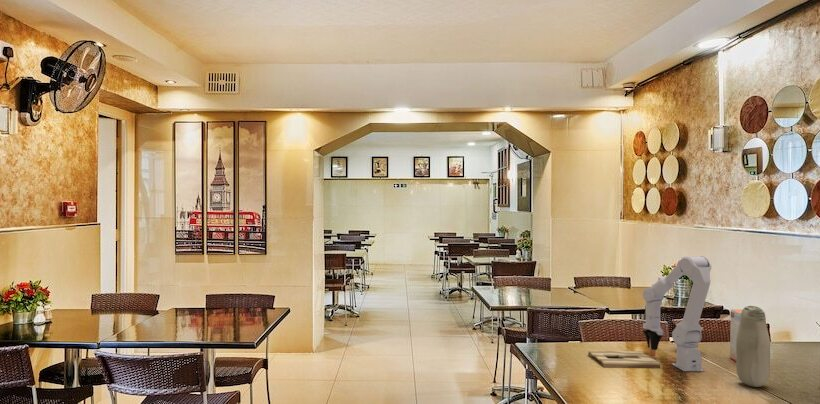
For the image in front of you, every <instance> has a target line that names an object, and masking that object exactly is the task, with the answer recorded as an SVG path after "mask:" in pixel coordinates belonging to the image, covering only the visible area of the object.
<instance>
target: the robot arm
mask: <svg viewBox="0 0 820 404" xmlns="http://www.w3.org/2000/svg"><path fill="white" fill-rule="evenodd" d="M712 267H713V266H712V263H711V262H710V260H709V258H707V257H706V256H703V255H701V256H683V257H681V259H680V260H678V261H677V265H676V266H675V267H674V268H673V269H672V270H671V271H670V272H669V273H668V274H667V275H666V276H660V277H658V279H657V281H655V282H654V283H653V284H652V285H650V287H645V288H644V289H643V291H642V298H643V299H644V301H645V323H642V328H643V330H642V332H643V335H644V336H645V339H646V344H647V348H648V349H650V343H651V349H652V350H656V351H657V350H658V348H659V344H660V341H661V339H662V338H663V336H664V330H663V328H662V327H661V306H662V304H663V302H662V301H663V300H664V298H665V295H666V294H667V293H668V292H669V291H671V289H673V288H674V283H675V282H677V280H679V279H680V278H682V277H683V276H687V278H688V279H689V280H690V281H691V282H692V287H691V290H690V294H689V295H688V296H689V297H688V300H687V304H686V307H685V310H684V315H683V318H682V320H680V321H679V322H677V323H678V324H677V323H676V324H677V325H676V327H675V328H674V329H673V330H672V333H671V338H672V340H673V341H674V343H675V345H676V358H675V359H676V363H673V362H672V363H671V365H672V366H674V367H675V368H677V369H679V370H681V371H683V372H704V369H702V360H703V359H702V352H700V350H699V349H698V347H697V345H698V346H699V343H700V342H701V340H702V336H703V335H702V332H703V330H702V328H703V327H702V326H701V325H700V324H699V323H700V320H701V315H702V312H703V309H704V306H705V301H706V299H707V297H708V292H709V288H710V286H711V270H712Z"/></svg>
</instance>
